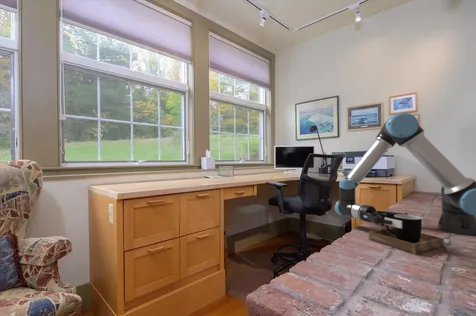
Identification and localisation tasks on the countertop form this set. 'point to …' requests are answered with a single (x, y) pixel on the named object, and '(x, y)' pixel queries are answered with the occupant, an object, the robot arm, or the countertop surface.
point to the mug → (408, 228)
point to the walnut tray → (391, 240)
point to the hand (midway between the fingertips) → (412, 222)
